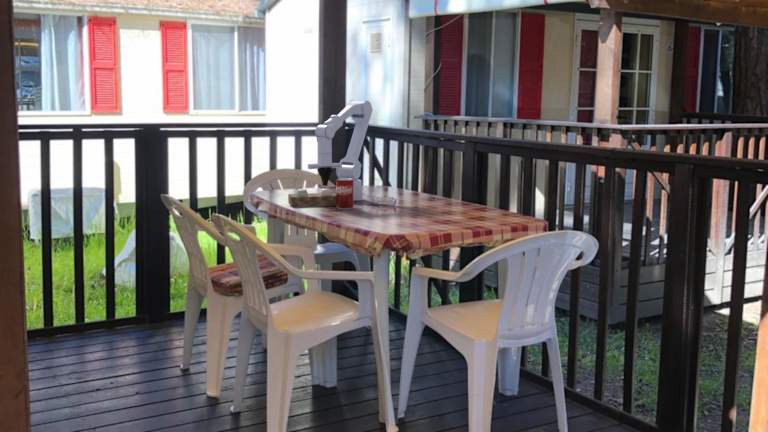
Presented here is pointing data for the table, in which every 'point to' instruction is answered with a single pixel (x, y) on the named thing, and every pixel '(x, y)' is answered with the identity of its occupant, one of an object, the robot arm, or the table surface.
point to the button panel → (312, 200)
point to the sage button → (301, 192)
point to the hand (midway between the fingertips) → (325, 185)
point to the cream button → (324, 192)
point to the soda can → (345, 193)
